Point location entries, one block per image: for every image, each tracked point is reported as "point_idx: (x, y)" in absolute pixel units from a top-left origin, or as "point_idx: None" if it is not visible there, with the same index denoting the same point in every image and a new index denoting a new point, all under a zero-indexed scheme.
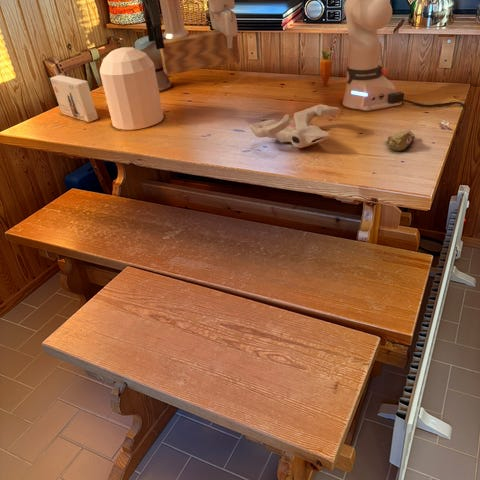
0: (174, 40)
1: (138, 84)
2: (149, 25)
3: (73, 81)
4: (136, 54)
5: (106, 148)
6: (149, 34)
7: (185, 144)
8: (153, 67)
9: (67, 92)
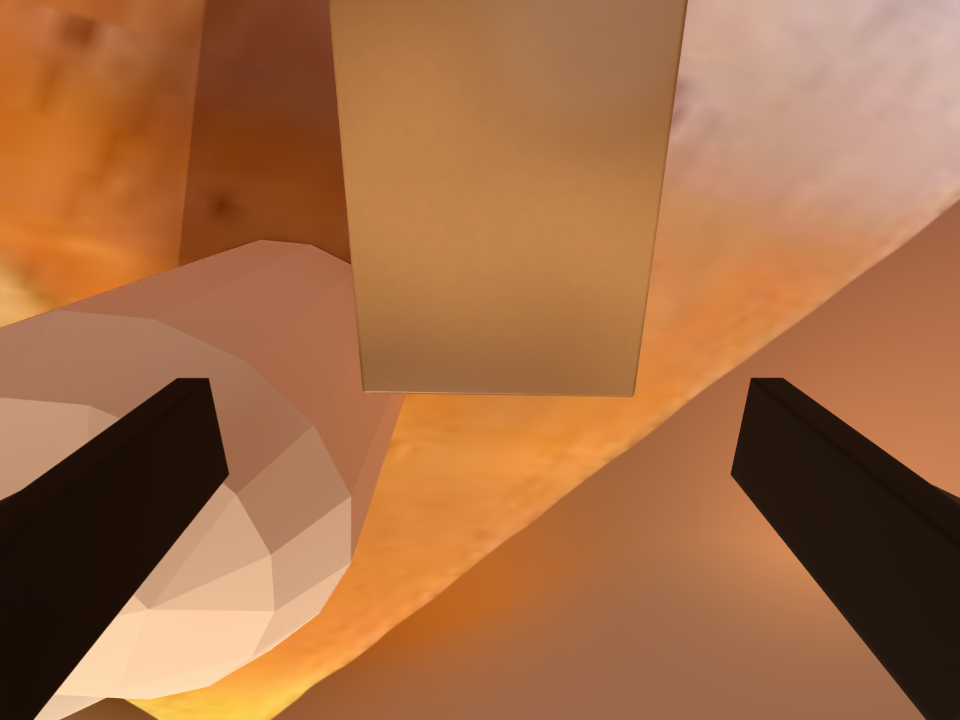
0: (583, 164)
1: (362, 435)
2: (56, 610)
3: (65, 697)
4: None
5: (543, 504)
6: (172, 518)
7: (704, 227)
8: (191, 325)
9: None
